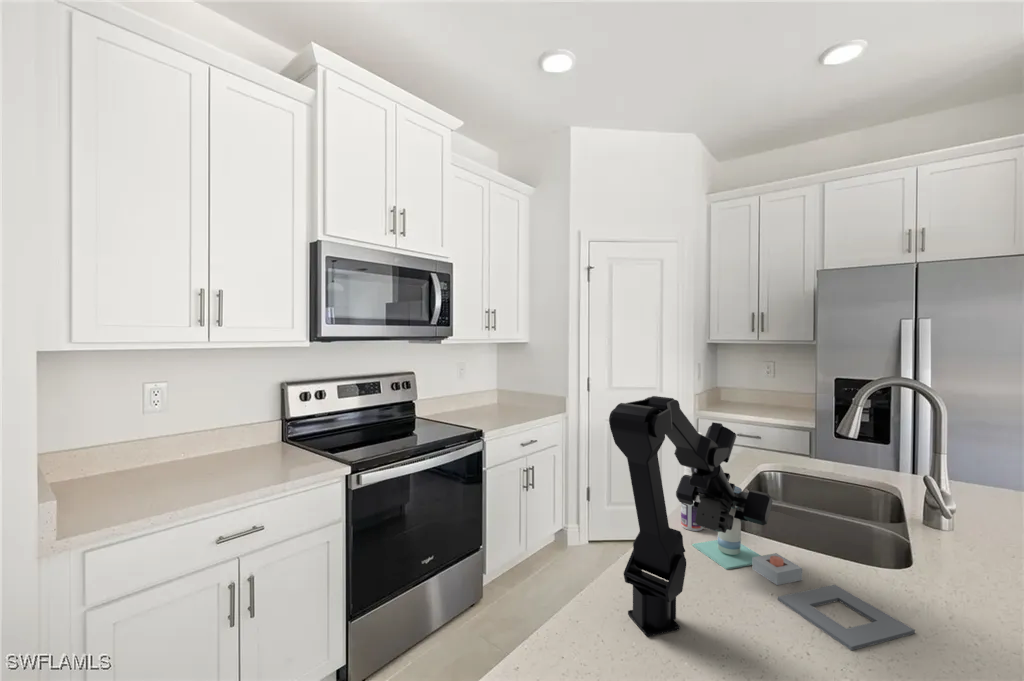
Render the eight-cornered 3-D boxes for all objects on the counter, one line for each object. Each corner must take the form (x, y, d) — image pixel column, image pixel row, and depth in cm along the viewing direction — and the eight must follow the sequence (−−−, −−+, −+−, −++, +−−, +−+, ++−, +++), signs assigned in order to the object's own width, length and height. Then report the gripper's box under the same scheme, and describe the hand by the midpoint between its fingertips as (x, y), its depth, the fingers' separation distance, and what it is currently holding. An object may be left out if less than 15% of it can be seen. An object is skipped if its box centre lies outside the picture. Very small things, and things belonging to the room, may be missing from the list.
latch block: (777, 585, 91) (777, 572, 91) (752, 569, 97) (752, 557, 97) (802, 580, 93) (802, 567, 92) (776, 564, 99) (776, 553, 98)
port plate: (851, 650, 73) (851, 646, 73) (777, 599, 86) (777, 596, 86) (914, 633, 76) (915, 629, 76) (834, 587, 90) (834, 584, 90)
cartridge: (739, 556, 100) (740, 493, 100) (716, 551, 103) (717, 489, 102) (741, 548, 104) (742, 487, 104) (719, 542, 107) (720, 483, 106)
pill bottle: (705, 525, 118) (705, 488, 118) (701, 533, 113) (701, 494, 113) (683, 520, 121) (683, 484, 121) (678, 528, 116) (679, 490, 116)
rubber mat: (726, 569, 97) (726, 567, 97) (692, 545, 107) (692, 543, 107) (768, 561, 100) (768, 560, 100) (731, 539, 110) (731, 537, 110)
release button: (776, 574, 93) (776, 562, 93) (767, 568, 95) (767, 556, 95) (786, 572, 94) (786, 560, 94) (776, 566, 96) (776, 555, 96)
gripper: (657, 502, 99) (680, 536, 107) (749, 529, 86) (768, 566, 94) (674, 458, 104) (695, 494, 112) (764, 477, 91) (780, 516, 99)
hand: (731, 516), depth 104 cm, fingers closed on cartridge, 4 cm apart
